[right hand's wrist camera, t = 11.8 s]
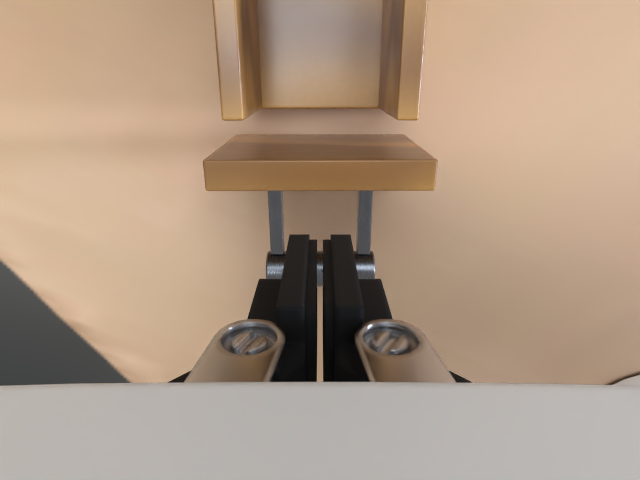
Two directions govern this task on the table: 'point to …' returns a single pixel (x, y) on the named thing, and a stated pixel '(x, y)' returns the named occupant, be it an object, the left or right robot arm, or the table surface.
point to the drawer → (320, 104)
